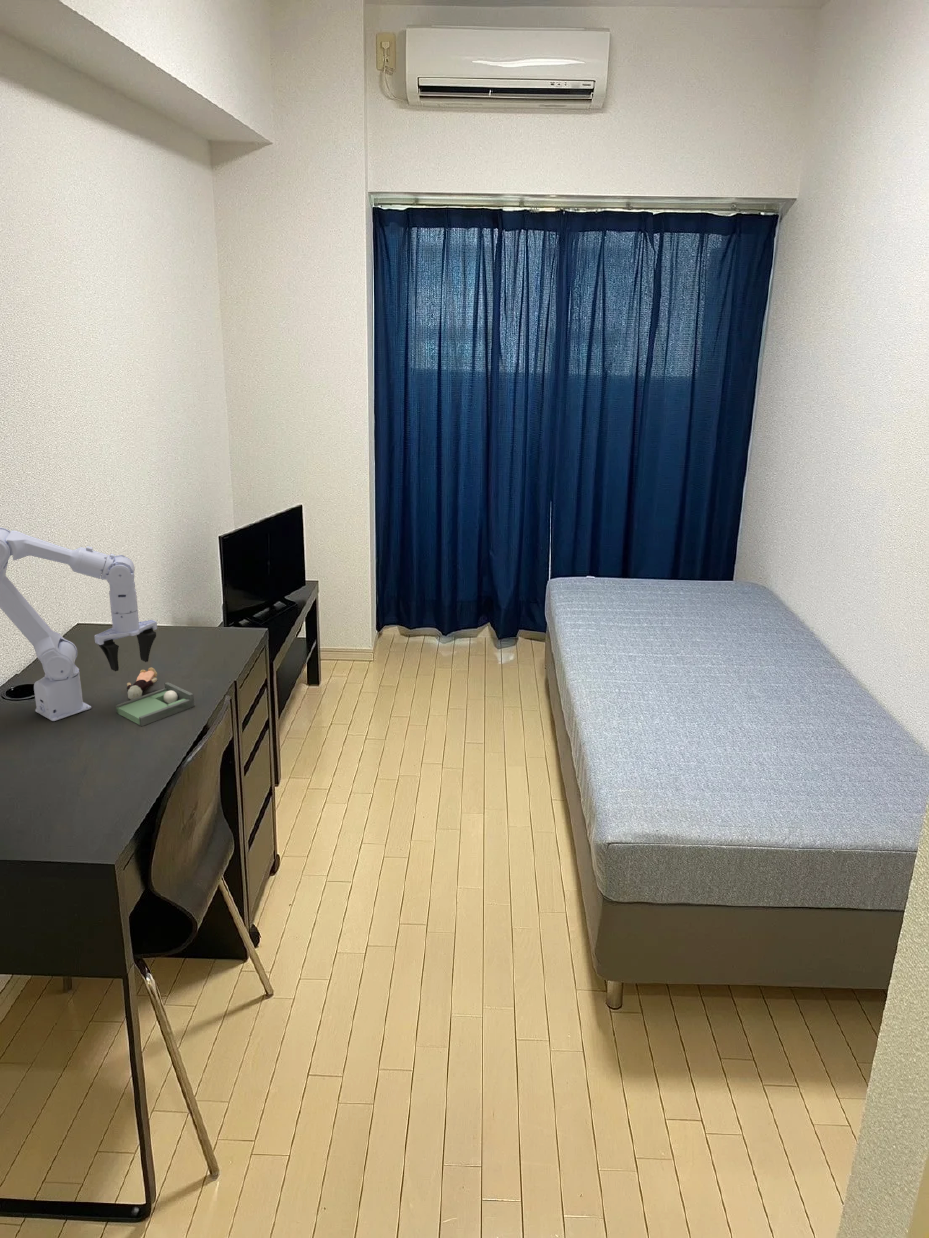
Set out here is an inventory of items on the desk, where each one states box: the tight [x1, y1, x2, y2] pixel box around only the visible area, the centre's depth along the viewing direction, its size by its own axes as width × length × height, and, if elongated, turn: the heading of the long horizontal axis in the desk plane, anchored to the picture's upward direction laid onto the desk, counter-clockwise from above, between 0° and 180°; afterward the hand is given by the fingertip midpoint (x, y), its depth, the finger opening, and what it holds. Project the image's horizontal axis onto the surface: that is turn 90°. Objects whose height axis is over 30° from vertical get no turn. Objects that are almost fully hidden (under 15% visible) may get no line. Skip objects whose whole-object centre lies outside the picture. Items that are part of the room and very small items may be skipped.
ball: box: [163, 690, 178, 704], centre depth 214 cm, size 3×3×3 cm
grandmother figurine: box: [126, 667, 158, 700], centre depth 220 cm, size 8×4×13 cm
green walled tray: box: [115, 681, 195, 727], centre depth 210 cm, size 14×10×3 cm
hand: (129, 665), depth 210 cm, fingers open, 7 cm apart
